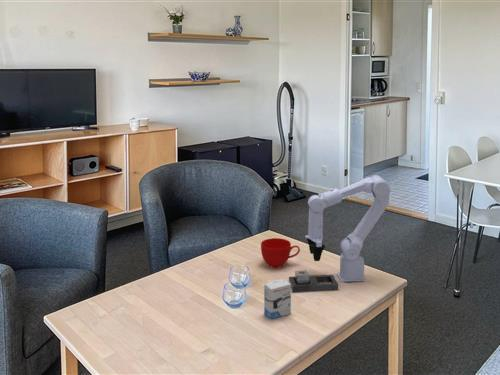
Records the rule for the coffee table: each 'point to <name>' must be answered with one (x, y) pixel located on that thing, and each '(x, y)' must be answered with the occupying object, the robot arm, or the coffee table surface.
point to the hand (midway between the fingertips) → (314, 257)
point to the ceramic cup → (277, 251)
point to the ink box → (277, 298)
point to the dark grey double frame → (315, 284)
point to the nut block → (301, 277)
